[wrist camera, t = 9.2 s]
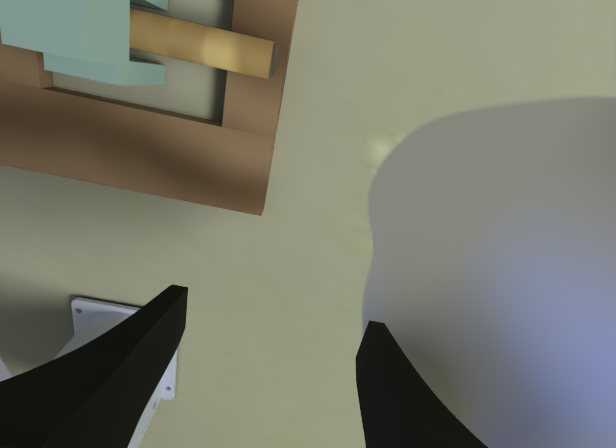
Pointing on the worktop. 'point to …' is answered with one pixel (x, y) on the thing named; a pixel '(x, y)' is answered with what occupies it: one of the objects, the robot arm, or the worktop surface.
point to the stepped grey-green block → (81, 37)
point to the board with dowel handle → (160, 114)
